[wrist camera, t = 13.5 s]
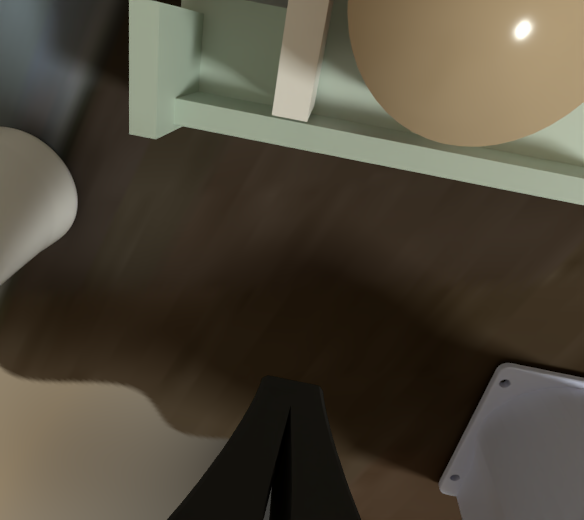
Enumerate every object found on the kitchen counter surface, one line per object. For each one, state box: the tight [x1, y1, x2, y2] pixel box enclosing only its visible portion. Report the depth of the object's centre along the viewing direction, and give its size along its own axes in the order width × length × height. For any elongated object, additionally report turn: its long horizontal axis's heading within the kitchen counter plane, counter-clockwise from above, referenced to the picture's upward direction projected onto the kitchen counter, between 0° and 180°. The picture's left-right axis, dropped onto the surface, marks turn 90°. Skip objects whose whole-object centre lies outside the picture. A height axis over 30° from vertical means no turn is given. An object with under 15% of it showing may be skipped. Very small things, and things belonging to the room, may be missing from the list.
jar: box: [347, 0, 584, 147], centre depth 11 cm, size 5×5×7 cm
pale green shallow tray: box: [129, 0, 584, 205], centre depth 13 cm, size 9×16×5 cm, turn 80°
